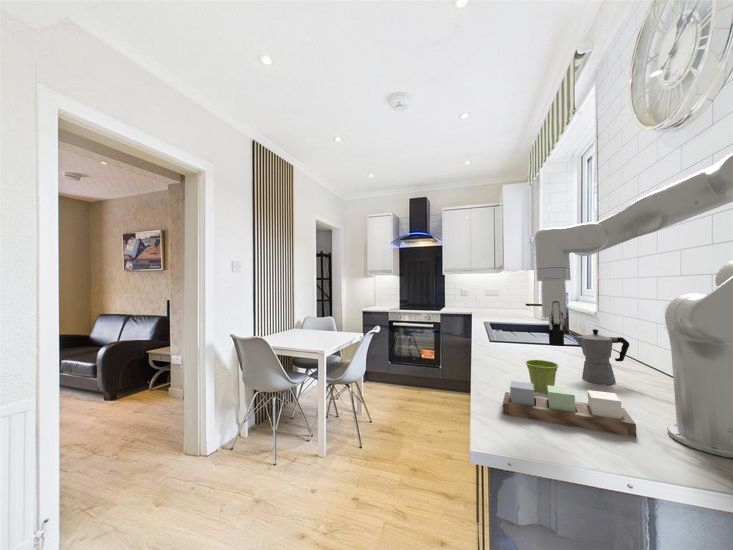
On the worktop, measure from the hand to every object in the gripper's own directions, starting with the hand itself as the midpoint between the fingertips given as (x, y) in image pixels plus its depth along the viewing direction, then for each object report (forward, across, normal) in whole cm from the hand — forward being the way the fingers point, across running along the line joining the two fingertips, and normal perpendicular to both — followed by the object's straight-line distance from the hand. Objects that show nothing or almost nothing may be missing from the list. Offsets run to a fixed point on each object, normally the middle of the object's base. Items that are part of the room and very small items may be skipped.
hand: (556, 344), depth 76 cm
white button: (+17, 0, +9) cm, 19 cm away
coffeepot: (+19, -39, +15) cm, 46 cm away
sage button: (+17, 0, 0) cm, 17 cm away
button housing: (+19, 0, 0) cm, 19 cm away
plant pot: (+19, -20, -3) cm, 28 cm away
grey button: (+17, 0, -8) cm, 19 cm away
